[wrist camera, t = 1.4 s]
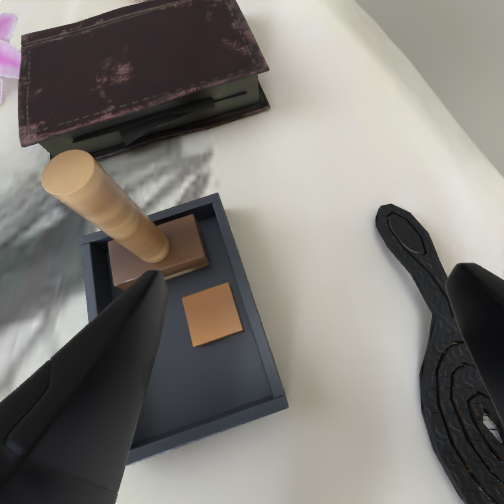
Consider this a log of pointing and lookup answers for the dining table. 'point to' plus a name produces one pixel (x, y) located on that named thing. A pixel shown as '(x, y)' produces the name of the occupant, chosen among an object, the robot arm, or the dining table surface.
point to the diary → (138, 76)
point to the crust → (212, 315)
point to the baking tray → (181, 347)
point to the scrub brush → (124, 221)
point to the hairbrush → (448, 372)
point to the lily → (8, 49)
